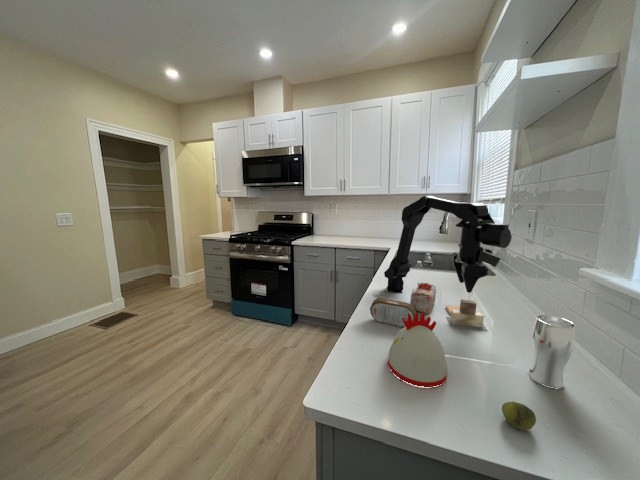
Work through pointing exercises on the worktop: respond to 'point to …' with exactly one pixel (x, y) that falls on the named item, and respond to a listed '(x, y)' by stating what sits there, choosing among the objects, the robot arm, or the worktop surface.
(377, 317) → the tin
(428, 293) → the food item
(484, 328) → the pad
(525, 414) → the lime
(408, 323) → the kitchen timer
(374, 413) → the worktop surface
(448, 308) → the tile
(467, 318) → the cream brown stepped block
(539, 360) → the beer glass
